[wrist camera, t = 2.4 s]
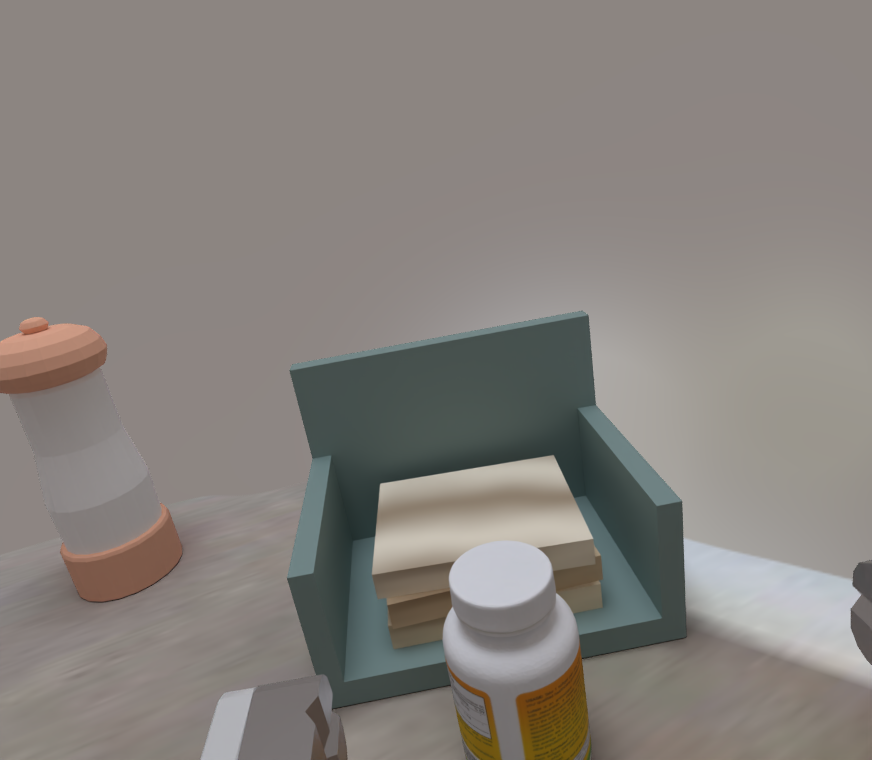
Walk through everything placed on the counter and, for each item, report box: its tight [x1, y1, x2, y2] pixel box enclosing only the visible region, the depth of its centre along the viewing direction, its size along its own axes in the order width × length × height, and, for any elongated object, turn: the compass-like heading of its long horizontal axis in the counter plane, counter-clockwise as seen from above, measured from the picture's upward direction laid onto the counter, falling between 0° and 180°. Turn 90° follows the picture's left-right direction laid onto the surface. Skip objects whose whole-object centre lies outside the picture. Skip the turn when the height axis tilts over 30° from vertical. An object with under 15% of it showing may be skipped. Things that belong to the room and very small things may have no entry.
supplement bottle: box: [443, 540, 591, 760], centre depth 25 cm, size 5×5×10 cm
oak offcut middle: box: [387, 546, 603, 629], centre depth 35 cm, size 9×11×2 cm
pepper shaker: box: [0, 317, 182, 602], centre depth 42 cm, size 7×7×19 cm
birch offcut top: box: [372, 455, 596, 599], centre depth 35 cm, size 9×11×2 cm
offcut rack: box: [287, 311, 686, 709], centre depth 35 cm, size 13×18×14 cm
